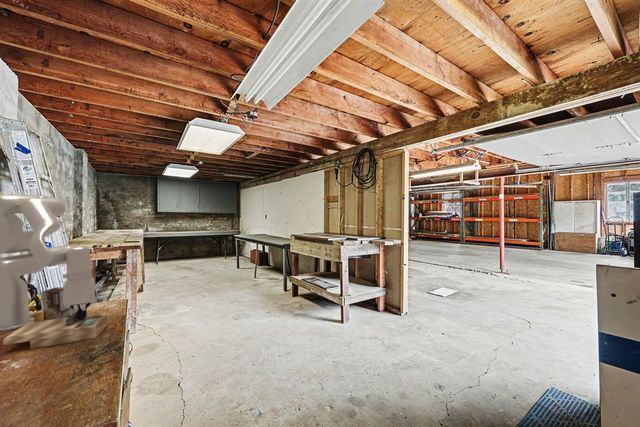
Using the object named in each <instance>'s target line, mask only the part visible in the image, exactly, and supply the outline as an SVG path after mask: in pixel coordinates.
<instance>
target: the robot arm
mask: <svg viewBox="0 0 640 427" xmlns="http://www.w3.org/2000/svg"><path fill="white" fill-rule="evenodd" d="M66 210H67V209H66V204H65V203H64V201H63V200H61V199H60V198H57V197H54V196H53V197H52V196H47V195H41V194H16V193H15V194H11V193H10V194H0V254H4V255H7V254H16V253H24V254H16V255H11V256H4V257H0V332H5V331H10V330H15V329H20V328H21V327H23V326H24V325H26V324H27V323H31V322H35V318H34V317H33V316H30V305H29V303H30V302H29V290H28V283H27V282H26V281H25V280H24V279H22V278H21V276H25V275H31V274H34V273H39V272H41V271H43V270H45V268H46V267H53V266H60V265H63V264H64V265H65V264H66V273H65V274H63V275H62V278H63V279H66V280H65V281H64V283H63V287H64V288H63V305H64V307H66V308H72V309H74V312H76V318H78V321H80V320H84V319H85V318H86V316H87V315H88V313H87V312H88V311H87V309H88V308H89V307H90V306H93V305H96V304H97V303H98V300H97V297H98V293H97V292H98V290H97V286H96V281H95V279H94V277H93V276H92V262H91V259H92V258H91V248H90V247H89V246H87V245H77V244H68V245H67V244H65V245H59V246H52V247H48V246H47V245H46V238H45V237H48V236H50V235H51V234H54V233H56V232H57V231H59V230H60V228H61V222H60V221H59V219H58V217H59V216H60V217H61V216H62V215H64V214H65V213H66ZM17 214H23V216H24V217H25V219H26V221H27V222H28V223H29V225H30V227H31V229H32V230H25V231H24V224H23V221H22V219H21V218H20V217H19V216H18V215H17ZM25 252H27V253H25Z"/></svg>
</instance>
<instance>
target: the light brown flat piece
mask: <svg viewBox="0 0 640 427" xmlns="http://www.w3.org/2000/svg"><path fill="white" fill-rule="evenodd" d="M87 316H90V314H87ZM87 316H86V317H87ZM82 321H83V320H80V321H78V318H76V311H74V314H72V315H71V316H70V317H68V318H60V319H53V320H46V321H44V320H39V321H33V322H31V323H27V324H26V325H24V326H23V327H19V328H17V330H14V331H13V332H12V333H10V334H9V335H7V336H5V337H4V339H2V342H3V343H2V344H3V346H6V345H7V346H8V345H12V344H17V343H18V344H19V343H26V342H30V341H33V340H39V339H46V338H52V337H59V336H65V335H71V334H73V329H74V328H75V327H76V326H77V325H78V324H80V323H81V322H82Z"/></svg>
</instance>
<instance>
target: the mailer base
mask: <svg viewBox="0 0 640 427" xmlns="http://www.w3.org/2000/svg"><path fill="white" fill-rule="evenodd" d="M108 324H109V322H108V313H101V314H93V315H89V316H87V317H86V318H85V319H84V320H83V321H82V322H81V323H80V324H78V325H77V326H76V327H75V328H74V329H73V334H71V335H65V336H59V337H52V338H46V339H39V340H33V341H29V346H30V350H33V349H39V348H43V347H50V346H56V345H57V346H58V345H61V344H63V345H64V344H68V343H74V342H81V341H82V342H83V341H86V340H92V339H93V340H94V339H97V337H98V336H99V335H100V333H102V332H103V331H104V329H105V328H106V327H107V326H108Z"/></svg>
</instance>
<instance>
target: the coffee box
mask: <svg viewBox="0 0 640 427" xmlns="http://www.w3.org/2000/svg"><path fill="white" fill-rule="evenodd" d="M63 288H64V286H63V287H61V286H59V287H53V288H50V289H47V290H43V291H41V299H42V300H41V302H42V312H43V321H46V320H53V319H60V318H68V317H70V316H71V315H72V314H74V313H75V311H74V309H72V308H66V307H64V305H63Z"/></svg>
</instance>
